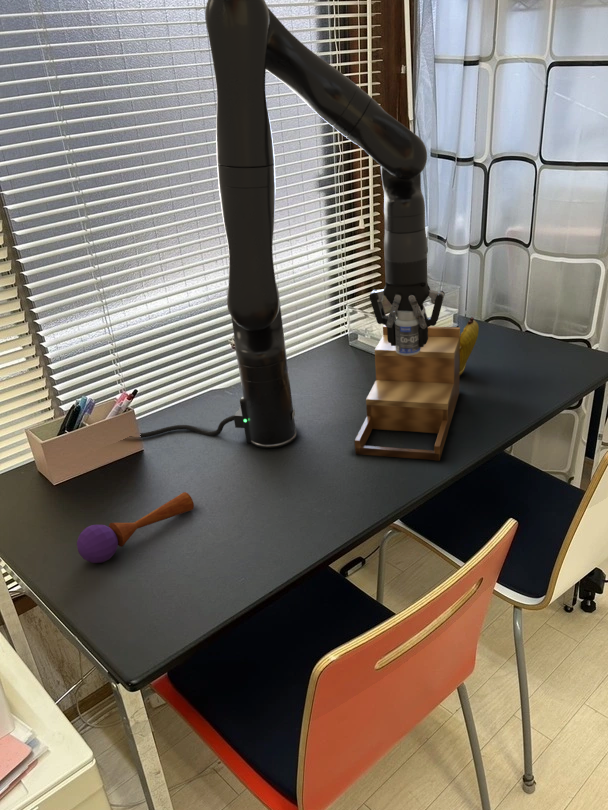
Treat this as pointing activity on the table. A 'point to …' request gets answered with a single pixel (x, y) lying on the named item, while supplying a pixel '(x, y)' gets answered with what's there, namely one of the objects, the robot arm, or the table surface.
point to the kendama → (125, 530)
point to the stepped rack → (413, 393)
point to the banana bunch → (467, 342)
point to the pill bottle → (407, 333)
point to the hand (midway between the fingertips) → (408, 344)
